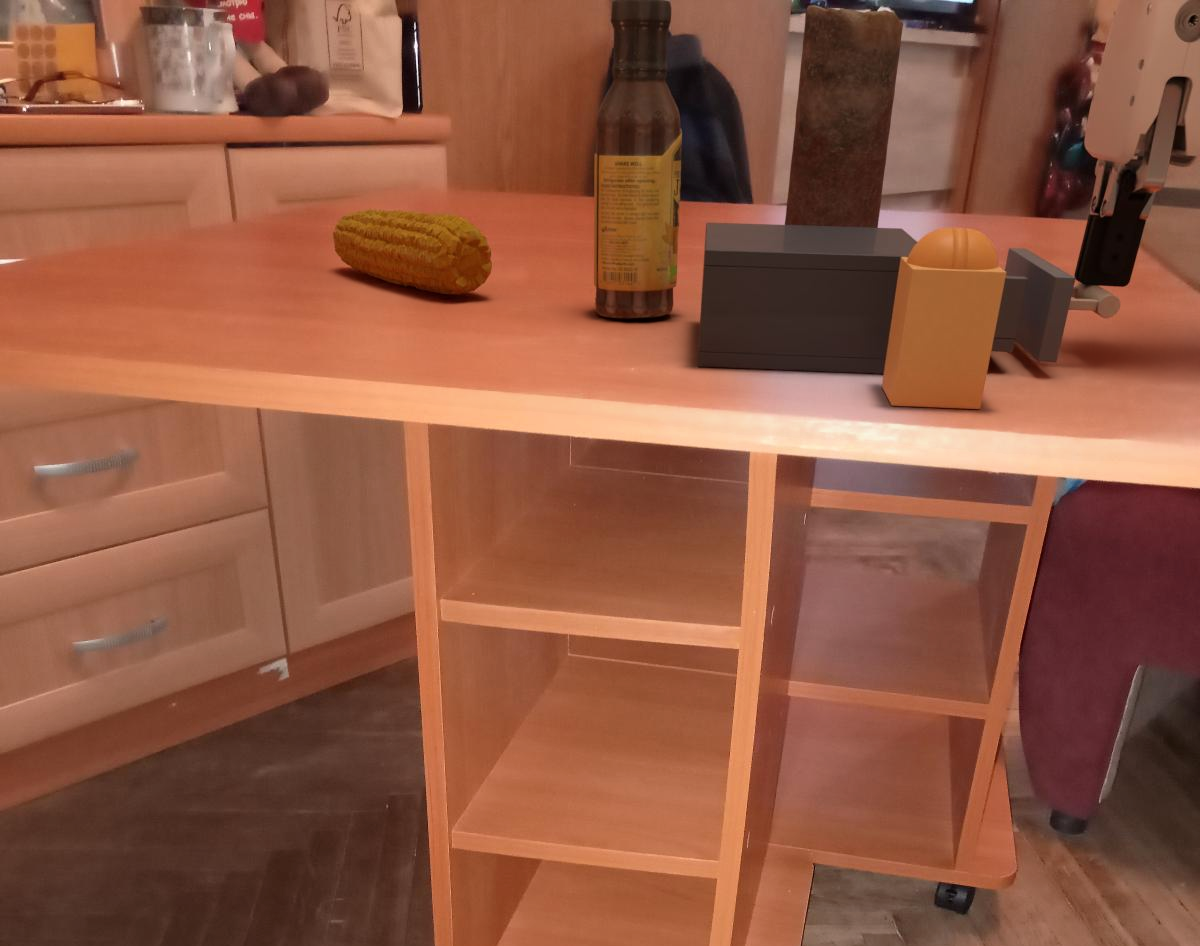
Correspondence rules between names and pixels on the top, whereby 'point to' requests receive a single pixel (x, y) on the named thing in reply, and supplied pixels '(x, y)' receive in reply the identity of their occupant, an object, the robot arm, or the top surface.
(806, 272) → the cabinet
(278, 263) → the top surface
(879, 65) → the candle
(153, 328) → the top surface
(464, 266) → the food
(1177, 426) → the top surface
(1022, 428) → the top surface
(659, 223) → the sauce bottle
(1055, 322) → the drawer
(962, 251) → the orange container
